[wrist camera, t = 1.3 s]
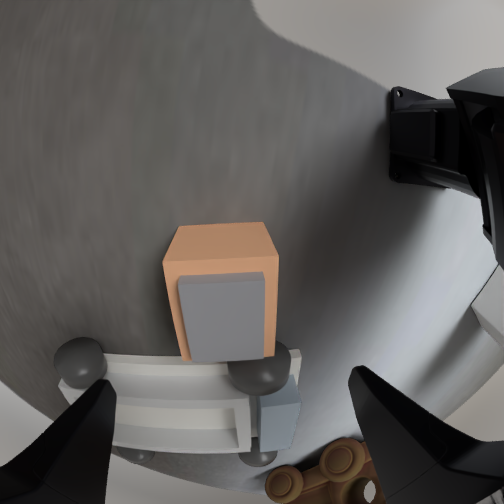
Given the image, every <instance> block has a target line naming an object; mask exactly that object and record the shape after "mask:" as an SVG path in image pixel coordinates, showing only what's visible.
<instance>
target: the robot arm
mask: <svg viewBox="0 0 504 504" xmlns="http://www.w3.org/2000/svg"><path fill="white" fill-rule="evenodd" d="M446 89H447V91H448V94H449V96H450V98H451V99H435V98H433V97H430V96H427V95H424V94H422V93H419V92H416V91H412V90H409V89H406V88H403V87H399V86H398V87H393V88H392V89H391V114H390V167H389V177H390V179H391V180H392V181H395V182H397V183H408V184H417V185H426V186H434V187H442V188H450V189H451V188H452V189H455V190H457V191H460V192H463V193H466V194H468V195H471V196H473V197H476V198H479V199H480V200H481V207H482V214H483V222H484V224H483V234H484V235H485V237H486V238H487V239H488V240H489V241H490V243H491V244H492V245H493V250H494V254H495V258H496V260H497V262H498V263H499V265H500V266H501V268H502V269H503V271H504V67H502V68H492V69H485V70H482V71H480V72H478V73H475V74H473V75H471V76H469V77H467V78H465V79H463V80H461V81H459V82H457V83H455V84H453V85H451V86H449V87H447V88H446ZM397 91H398V92H399V94H400V96H398V95H397ZM396 172H398V176H397V177H395V174H396ZM348 386H349V390H350V394H351V398H352V402H353V406H354V410H355V414H356V418H357V421H358V424H359V427H360V429H361V432H362V435H363V437H364V440H365V443H366V446H367V448H368V451H369V454H370V457H371V459H372V462H373V465H374V468H375V471H376V474H377V477H378V479H379V482H380V485H381V488H382V491H383V494H384V497H385V501H386V504H504V441H492V442H485V441H480V440H477V439H475V438H473V437H471V436H469V435H467V434H465V433H463V432H461V431H459V430H457V429H455V428H453V427H452V426H450V425H448V424H446V423H445V422H443V421H442V420H440V419H439V418H437V417H436V416H434V415H433V414H431V413H429V412H428V411H427V410H425V409H424V408H423V407H421V406H420V405H418V404H417V403H416V402H414V401H413V400H411V399H410V398H408V397H407V396H406V395H404V394H403V393H402V392H400V391H399V390H397V389H396V388H395V387H393V386H392V385H390V384H389V383H388V382H386V381H385V380H384V379H382V378H381V377H379V376H378V375H377V374H375V373H374V372H373V371H371V370H370V369H369V368H367V367H366V366H364V365H361V366H356V367H354V368H353V369H352V372H351V375H350V378H349V381H348ZM116 402H117V394H116V391H115V390H114V388H113V386H112V384H111V382H110V381H109V380H108V379H98V380H96V381H95V382H94V383H93V384H92V385H91V386H90V387H89V388H88V389H87V390H86V391H85V392H84V393H83V394H82V395H81V396H80V397H79V398H78V399H77V400H76V401H75V402H74V403H73V404H72V405H71V406H70V407H69V408H67V409H66V410H65V411H64V412H63V413H62V414H61V415H60V416H59V417H58V418H57V419H56V420H55V421H54V422H53V423H52V424H51V425H50V426H49V427H48V428H47V429H46V430H45V431H44V433H42V434H41V435H40V436H39V437H38V438H37V439H36V440H35V441H34V442H33V443H32V444H31V445H29V446H28V447H27V448H26V449H25V450H23V451H22V452H21V453H20V454H18V455H17V456H16V457H15V458H13V459H12V460H11V461H9V462H8V463H7V464H5V465H3V466H1V467H0V504H105V496H106V486H107V476H108V468H109V462H110V455H111V448H112V442H113V436H114V429H115V414H116Z"/></svg>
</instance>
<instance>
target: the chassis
mask: <svg viewBox="0 0 504 504" xmlns="http://www.w3.org/2000/svg"><path fill="white" fill-rule="evenodd" d="M301 360H302V356H301V353H300V350H299V349H292V350H288V349H287V348H286V347H285V346H284V345H283V344H282V343H280V342H278V341H276V340H275V353H274V356H269V357H264V359H255V360H241V361H223V362H192V361H183V359H182V356H138V355H119V354H105V353H103V352H102V350H101V347H100V345H99V344H98V343H97V342H96V341H95V340H93V339H91V338H84V337H83V338H76V339H73V340H70V341H68V342H66V343H65V344H63V345H62V346H61V347H60V348H59V349H58V350H57V352H56V354H55V356H54V366H55V368H56V369H57V371H58V373H59V374H60V376H61V378H62V379H61V381H60V383H59V385H58V387H59V388H60V390H61V391H62V393H63V395H64V397H65V398H66V399H67V401H68V402H69V403H70V405H72V404H73V403H74V402H75V401H76V400H77V399H78V398H79V397H80V396H81V395H82V394H83V393H84V392H85V391H86V390H87V389H88V388H89V387H90V386H91V385H92V384H93V383H94V382H95V381H96V380H98V379H108V380H109V381H110V382H111V384H112V386H113V388H114V390H115V391H116V394H117V402H116V414H115V429H114V436H113V442H112V445H115V446H117V449H118V451H119V453H120V454H121V455H122V456H123V457H124V458H125V459H126V460H127V461H129V462H131V463H134V464H144V463H147V462H148V461H150V460H151V459H152V458H153V456H154V454H155V451H161V452H175V453H237V452H238V454H239V457H240V459H241V460H242V461H243V462H244V463H245V464H247V465H249V466H253V467H262V466H266V465H268V464H270V463H271V462H273V461H274V459H275V458H276V456H277V452H278V450H283V449H290V447H291V444H292V440H293V436H294V432H295V428H296V424H297V420H298V416H299V411H300V407H301V403H302V402H301V398H300V395H299V392H298V388H297V384H298V378H299V372H300V366H301Z"/></svg>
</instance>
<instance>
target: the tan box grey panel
mask: <svg viewBox="0 0 504 504" xmlns="http://www.w3.org/2000/svg"><path fill="white" fill-rule="evenodd" d="M278 267H279V255H278V253H277V251H276V249H275V246H274V244H273V242H272V240H271V238H270V236H269V234H268V231H267V229H266V227H265V225H264V223H263V222H250V223H227V224H208V225H190V226H179V227H178V229H177V232H176V234H175V236H174V238H173V240H172V242H171V244H170V246H169V249H168V251H167V253H166V255H165V257H164V260H163V268H164V274H165V280H166V285H167V291H168V296H169V301H170V306H171V311H172V316H173V321H174V325H175V330H176V334H177V339H178V343H179V347H180V351H181V355H182V359H183V361H192V362H223V361H241V360H255V359H264V357H269V356H274V353H275V335H276V315H277V293H278Z"/></svg>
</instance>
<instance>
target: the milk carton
mask: <svg viewBox="0 0 504 504" xmlns="http://www.w3.org/2000/svg"><path fill="white" fill-rule="evenodd" d="M471 306H472V308H473V310H474V312H475V314H476V316H477V318H478V321H479V323H480V325H481V327H482V328H483V329H484V330H485V331H486V332H487V333H488V334H489V335H490V336H491V337H492V338H493V339H494V340H495V341H496V342H497V343H498V344H499V345H500V346H501V347H502V348H503V350H504V271H503V269H502V268H501V266H500V265H499V266H498V267H497V269H496V270H495V272H494V273H493V275H492V276H491V278H490V279H489V281H488V282H487V284H486V285H485V287H484V288H483V290H482V291H481V292H480V294H479V295H478V296H477V298H476V299H475V300H474V302H473V303H472V305H471Z"/></svg>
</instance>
